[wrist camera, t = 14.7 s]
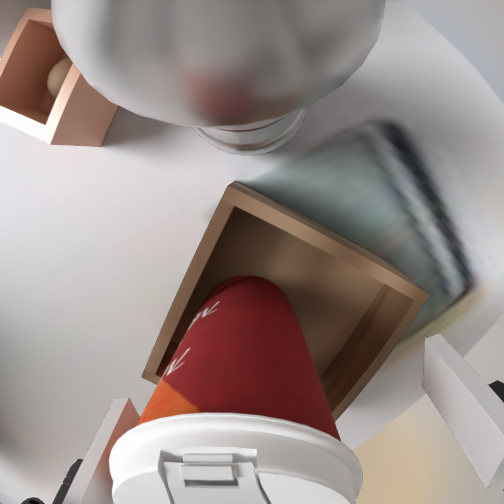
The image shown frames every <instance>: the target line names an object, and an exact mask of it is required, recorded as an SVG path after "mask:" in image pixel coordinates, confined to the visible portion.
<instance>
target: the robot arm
mask: <svg viewBox="0 0 504 504" xmlns="http://www.w3.org/2000/svg"><path fill="white" fill-rule="evenodd" d="M422 387H423V388H424V390H425V391H426V393H427V394H428V396H429V397H430V399H431V400H432V402H433V403H434V405H435V406H436V408H437V409H438V411H439V413H440V414H441V415H442V417H443V419H444V420H445V422H446V423H447V425H448V427H449V428H450V430H451V431H452V433H453V434H454V436H455V438H456V439H457V441H458V442H459V444H460V446H461V447H462V449H463V451H464V452H465V454H466V455H467V457H468V459H469V461H470V462H471V464H472V465H473V467H474V469H475V471H476V472H477V474H478V476H479V477H480V479H481V481H482V482H483V484H484V486H485V488H486V489H487V488H489V487H490V486H492V485H494V484H495V483H497V482H499V481H500V480H502V479H503V478H504V383H502V382H500V381H498V380H497V381H495V382H493V383H491V384H489V385H488V384H486V382H485V381H484V380H483V379H482V378H481V377H480V375H479V374H478V373H477V372H476V371H475V370H474V369H473V368H472V367H471V366H470V365H469V364H468V363H467V361H466V360H465V359H464V358H463V357H462V356H461V355H460V354H459V353H458V352H457V351H456V350H455V349H454V348H453V347H452V345H451V344H450V343H449V342H448V341H447V340H446V339H445V338H444V337H443V336H442V335H441V334H440V333H439V334H436V335H434V336H431V337H428V338H425V350H424V368H423V382H422ZM139 420H140V417H139V415H138V413H137V412H136V410H135V408H134V406H133V404H132V403H131V401H130V399H129V398H115V399H114V401H113V403H112V405H111V407H110V409H109V411H108V412H107V414H106V416H105V418H104V420H103V422H102V424H101V426H100V428H99V430H98V432H97V434H96V436H95V438H94V440H93V442H92V443H91V445H90V447H89V449H88V451H87V453H86V455H85V457H84V459H78V460H77V461H76V462H75V463H74V464H73V465H72V466H71V467H70V469H69V471H68V473H67V475H66V476H67V477H65V479H64V481H63V485H61V487H60V489H59V491H58V493H57V495H56V497H55V499H54V501H53V504H114V502H113V497H112V487H113V479H112V477H111V473H110V467H109V458H110V454H111V450H112V448H113V446H114V445H115V443H116V442H117V440H118V439H119V438H120V437H121V436H122V435H124V434H125V433H126V432H127V431H129V430H131V429H132V428H134V427H136V425H137V423H138V421H139ZM503 491H504V490H503ZM22 504H45V503H44V502H42V501H41V500H40V499H38V498H34V497H33V498H28V499H26V500H25V501H23V502H22Z"/></svg>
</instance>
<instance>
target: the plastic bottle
mask: <svg viewBox="0 0 504 504" xmlns="http://www.w3.org/2000/svg"><path fill="white" fill-rule="evenodd" d="M51 8H52V21H53V26H54V29H55V32H56V34H57V37H58V40H59V42H60V45H61V46H62V48H63V49H64V51H65V52H66V54H67V55H68V56H69V58H70V59H71V61H72V62H73V64H74V65H75V66H76V68H77V69H78V70H79V72H80V73H81V74H82V76H83V77H84V78H85V80H86V81H87V82H88V84H89V85H90V86H92V87H93V88H94V89H95V90H97V91H98V92H99V93H100V94H102V95H103V96H104V97H105V98H107V99H108V100H109V101H110V102H112V103H114V104H117V105H119V106H121V107H123V108H125V109H127V110H129V111H131V112H133V113H135V114H137V115H140V116H144V117H148V118H152V119H155V120H159V121H163V122H166V123H170V124H176V125H180V126H186V127H193V128H194V129H195V131H196V132H197V133H198V134H199V135H200V137H202V138H203V139H204V140H205V141H206V142H208V143H209V144H210V145H212V146H214V147H216V148H217V149H219V150H222V151H225V152H228V153H231V154H236V155H243V156H245V155H258V154H263V153H267V152H270V151H272V150H274V149H277V148H279V147H280V146H282V145H283V144H284V143H286V142H287V141H289V140H290V138H291V137H292V136H293V135H294V134H295V133H296V132H297V130H298V129H299V127H300V125H301V124H302V121H303V118H304V116H305V113H306V108H307V107H308V106H310V105H311V104H313V103H314V102H316V101H318V100H319V99H321V98H322V97H324V96H325V95H327V94H328V93H330V92H331V91H333V90H334V89H336V88H337V87H339V86H341V85H342V84H343V83H344V82H345V81H346V80H347V79H348V78H349V77H350V76H351V75H352V74H353V73H354V72H355V71H356V70H357V69H358V68H359V67H360V66H361V65H362V64H363V63H364V61H365V59H366V58H367V56H368V54H369V53H370V51H371V50H372V48H373V46H374V45H375V43H376V41H377V38H378V35H379V31H380V27H381V24H382V20H383V16H384V8H385V0H51Z"/></svg>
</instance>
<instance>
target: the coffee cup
mask: <svg viewBox="0 0 504 504" xmlns="http://www.w3.org/2000/svg"><path fill="white" fill-rule="evenodd" d="M109 467H110V473H111V477H112V479H113V487H112V497H113V502H114V504H355V500H356V498H357V496H358V494H359V491H360V488H361V485H362V480H363V472H362V469H361V465H360V462H359V460H358V459H357V457H356V456H355V454H354V453H353V451H352V450H350V449H349V448H348V447H347V446H346V445H345V444H344V443H342V442H341V439H340V437H339V434H338V431H337V428H336V425H335V422H334V419H333V417H332V414H331V411H330V408H329V405H328V402H327V399H326V397H325V394H324V391H323V388H322V385H321V383H320V380H319V377H318V374H317V371H316V368H315V366H314V363H313V360H312V357H311V355H310V352H309V349H308V347H307V344H306V341H305V338H304V336H303V333H302V330H301V328H300V325H299V323H298V320H297V317H296V315H295V312H294V310H293V308H292V305H291V303H290V301H289V299H288V298H287V296H286V295H285V293H284V292H283V291H282V290H281V289H280V288H279V287H278V286H277V285H276V284H274V283H273V282H271V281H269V280H267V279H265V278H262V277H258V276H253V275H241V276H235V277H232V278H229V279H227V280H224V281H223V282H221V283H220V284H218V285H217V286H216V287H215V288H214V289H213V290H212V291H211V292H210V293H209V295H208V296H207V297H206V299H205V300H204V302H203V304H202V305H201V307H200V309H199V310H198V312H197V314H196V316H195V318H194V319H193V321H192V323H191V325H190V326H189V328H188V330H187V332H186V334H185V335H184V337H183V339H182V341H181V343H180V345H179V346H178V348H177V350H176V352H175V354H174V356H173V358H172V359H171V361H170V363H169V365H168V367H167V369H166V371H165V372H164V374H163V376H162V378H161V380H160V382H159V384H158V386H157V387H156V389H155V391H154V393H153V395H152V397H151V399H150V401H149V403H148V404H147V406H146V408H145V410H144V412H143V414H142V416H141V418H140V420H139V421H138V423H137V425H136V427H134V428H132V429H131V430H129V431H127V432H126V433H125V434H124V435H122V436H121V437H120V438H119V439H118V440H117V442H116V443H115V445H114V446H113V448H112V450H111V454H110V458H109Z"/></svg>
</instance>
